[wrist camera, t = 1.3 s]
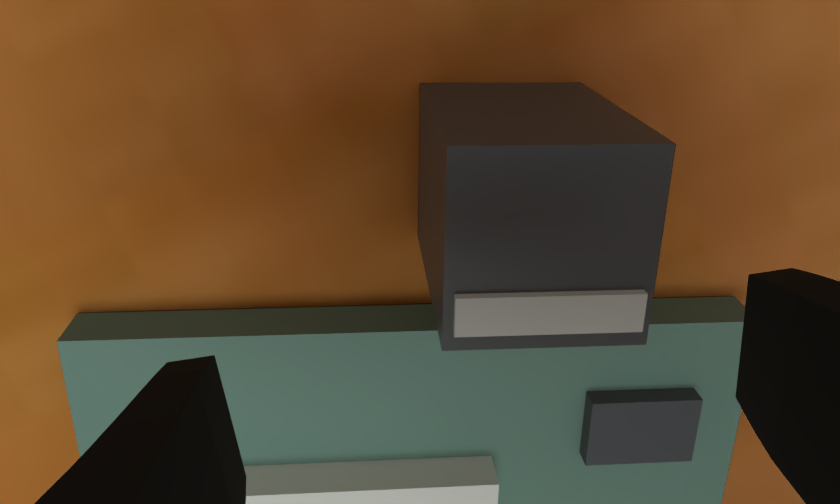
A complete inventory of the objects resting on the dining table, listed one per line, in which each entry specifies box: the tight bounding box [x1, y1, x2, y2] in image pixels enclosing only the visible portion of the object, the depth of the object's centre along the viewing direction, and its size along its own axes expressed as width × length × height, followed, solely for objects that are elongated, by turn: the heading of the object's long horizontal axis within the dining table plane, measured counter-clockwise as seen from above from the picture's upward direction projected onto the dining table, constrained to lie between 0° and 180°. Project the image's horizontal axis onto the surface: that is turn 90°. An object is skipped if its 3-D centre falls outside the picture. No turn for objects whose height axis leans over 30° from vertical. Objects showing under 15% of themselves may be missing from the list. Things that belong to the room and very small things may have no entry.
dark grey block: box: [418, 83, 676, 351], centre depth 16 cm, size 4×4×6 cm
